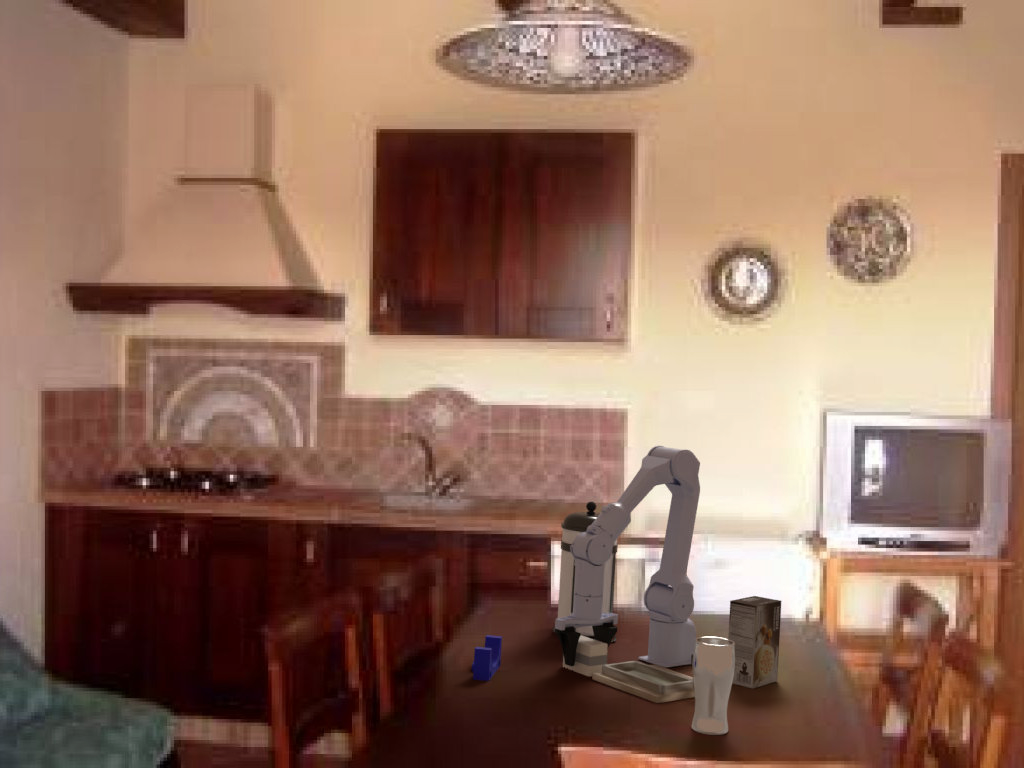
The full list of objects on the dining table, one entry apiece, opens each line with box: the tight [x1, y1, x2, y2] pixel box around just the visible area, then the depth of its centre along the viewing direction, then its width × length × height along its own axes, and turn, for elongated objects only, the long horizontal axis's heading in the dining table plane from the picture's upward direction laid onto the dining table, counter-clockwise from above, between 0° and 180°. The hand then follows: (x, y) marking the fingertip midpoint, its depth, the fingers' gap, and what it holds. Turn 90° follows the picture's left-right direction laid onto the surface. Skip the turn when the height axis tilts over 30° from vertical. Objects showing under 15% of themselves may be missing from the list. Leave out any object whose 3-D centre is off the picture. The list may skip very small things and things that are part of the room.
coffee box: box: [727, 595, 783, 690], centre depth 242 cm, size 9×6×16 cm
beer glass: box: [691, 636, 735, 736], centre depth 209 cm, size 7×7×15 cm
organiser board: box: [591, 654, 695, 704], centre depth 235 cm, size 16×18×7 cm
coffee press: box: [552, 501, 619, 643], centre depth 275 cm, size 17×16×30 cm
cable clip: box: [471, 634, 503, 682], centre depth 239 cm, size 12×4×6 cm, turn 170°
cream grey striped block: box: [562, 635, 609, 677], centre depth 244 cm, size 4×8×6 cm, turn 37°
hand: (584, 663), depth 244 cm, fingers open, 7 cm apart
